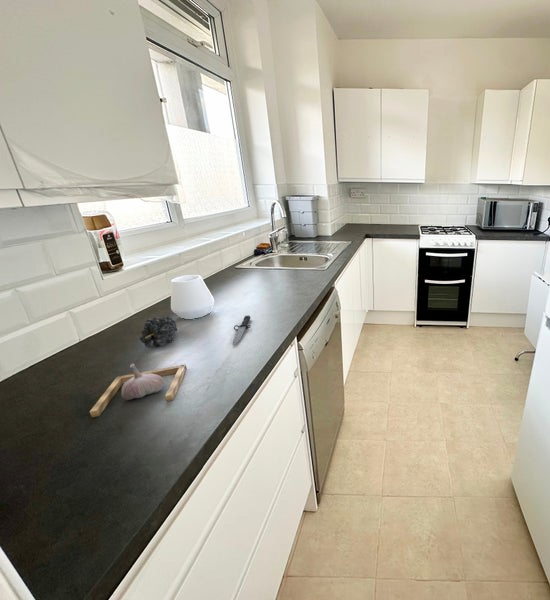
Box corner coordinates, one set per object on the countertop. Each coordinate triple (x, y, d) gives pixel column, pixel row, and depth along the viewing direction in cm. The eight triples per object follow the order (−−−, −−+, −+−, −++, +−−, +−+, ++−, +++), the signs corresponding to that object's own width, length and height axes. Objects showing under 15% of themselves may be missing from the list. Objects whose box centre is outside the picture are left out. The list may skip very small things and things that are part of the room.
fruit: (158, 304, 99) (135, 322, 86) (188, 308, 102) (171, 327, 89) (155, 328, 101) (133, 350, 88) (185, 332, 104) (168, 354, 91)
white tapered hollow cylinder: (225, 311, 116) (216, 275, 111) (188, 325, 105) (177, 286, 100) (202, 305, 122) (193, 271, 117) (166, 318, 111) (154, 281, 106)
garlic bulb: (116, 405, 68) (102, 374, 65) (139, 384, 75) (128, 355, 72) (152, 403, 69) (140, 372, 66) (172, 382, 75) (162, 354, 73)
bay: (173, 400, 69) (171, 394, 69) (92, 417, 65) (89, 411, 64) (187, 368, 81) (185, 364, 80) (119, 381, 76) (116, 376, 76)
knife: (241, 341, 91) (222, 343, 90) (242, 347, 92) (224, 349, 91) (254, 314, 108) (238, 315, 107) (255, 319, 109) (240, 320, 108)
